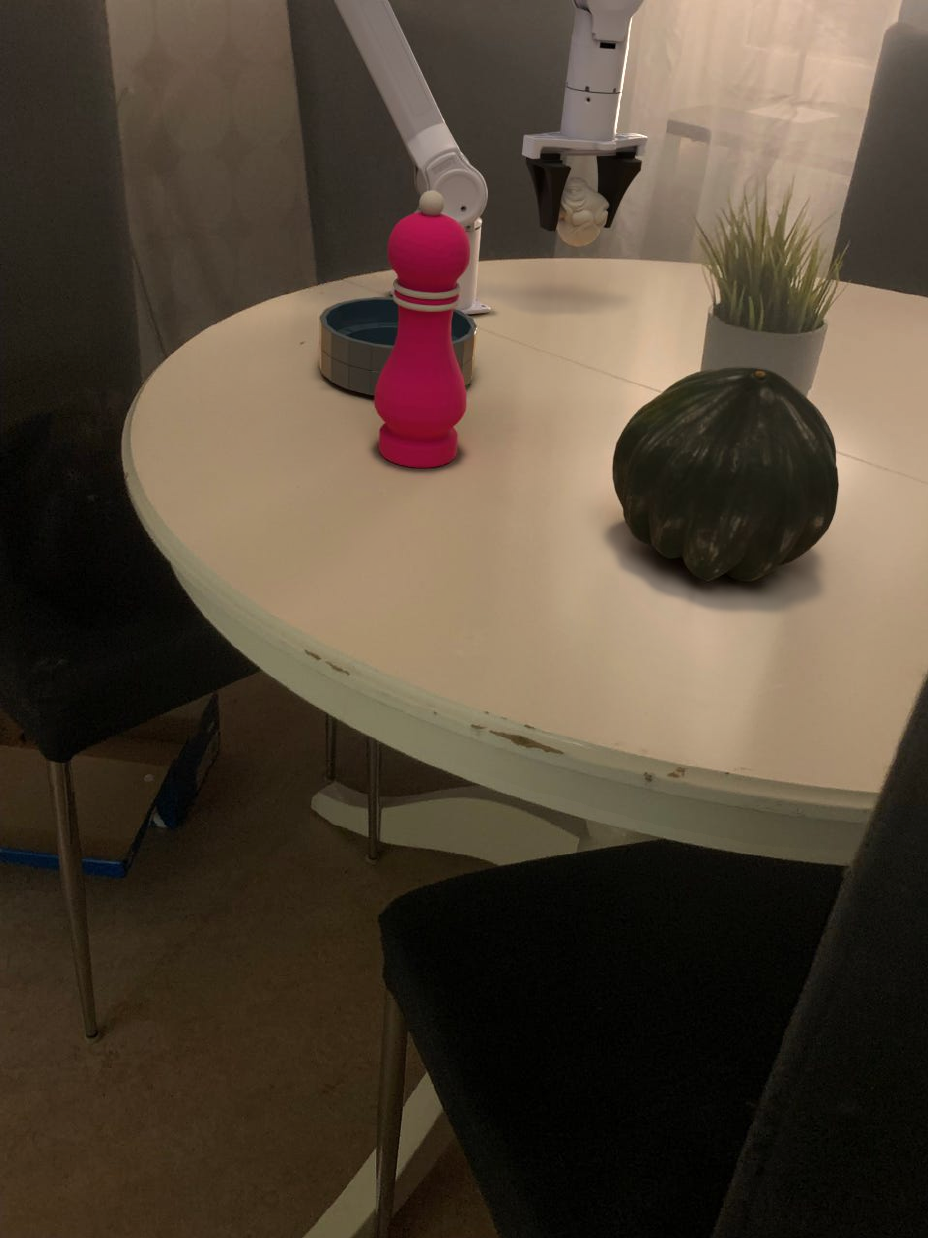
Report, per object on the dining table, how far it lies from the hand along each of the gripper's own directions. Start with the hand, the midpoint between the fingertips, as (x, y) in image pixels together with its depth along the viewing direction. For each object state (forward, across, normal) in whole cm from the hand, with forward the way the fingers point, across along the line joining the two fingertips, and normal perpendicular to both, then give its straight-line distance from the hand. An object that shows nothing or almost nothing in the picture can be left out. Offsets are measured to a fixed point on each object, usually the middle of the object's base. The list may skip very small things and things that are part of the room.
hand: (575, 227), depth 117 cm
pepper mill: (+9, -34, -28) cm, 45 cm away
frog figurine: (+2, 0, 0) cm, 2 cm away
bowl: (+9, -27, -12) cm, 31 cm away
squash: (+9, -22, -50) cm, 56 cm away
